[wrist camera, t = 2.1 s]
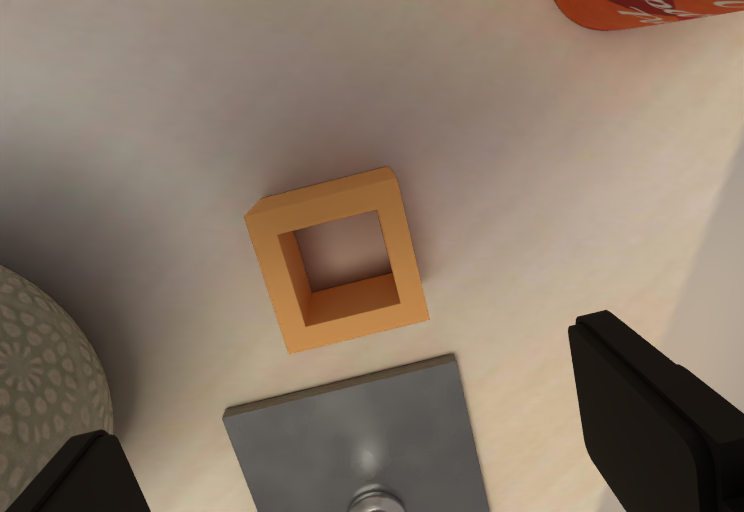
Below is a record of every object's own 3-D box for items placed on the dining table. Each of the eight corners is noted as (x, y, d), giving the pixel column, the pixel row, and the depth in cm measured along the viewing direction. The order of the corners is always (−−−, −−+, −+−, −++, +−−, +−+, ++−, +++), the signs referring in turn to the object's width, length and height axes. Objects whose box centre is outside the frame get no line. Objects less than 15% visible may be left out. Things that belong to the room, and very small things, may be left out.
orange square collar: (261, 198, 23) (243, 216, 19) (388, 166, 23) (396, 177, 19) (297, 316, 25) (288, 354, 21) (416, 286, 25) (429, 319, 21)
